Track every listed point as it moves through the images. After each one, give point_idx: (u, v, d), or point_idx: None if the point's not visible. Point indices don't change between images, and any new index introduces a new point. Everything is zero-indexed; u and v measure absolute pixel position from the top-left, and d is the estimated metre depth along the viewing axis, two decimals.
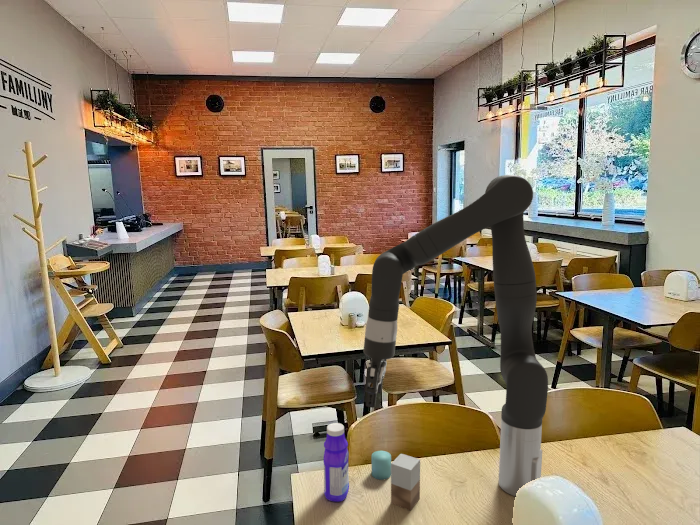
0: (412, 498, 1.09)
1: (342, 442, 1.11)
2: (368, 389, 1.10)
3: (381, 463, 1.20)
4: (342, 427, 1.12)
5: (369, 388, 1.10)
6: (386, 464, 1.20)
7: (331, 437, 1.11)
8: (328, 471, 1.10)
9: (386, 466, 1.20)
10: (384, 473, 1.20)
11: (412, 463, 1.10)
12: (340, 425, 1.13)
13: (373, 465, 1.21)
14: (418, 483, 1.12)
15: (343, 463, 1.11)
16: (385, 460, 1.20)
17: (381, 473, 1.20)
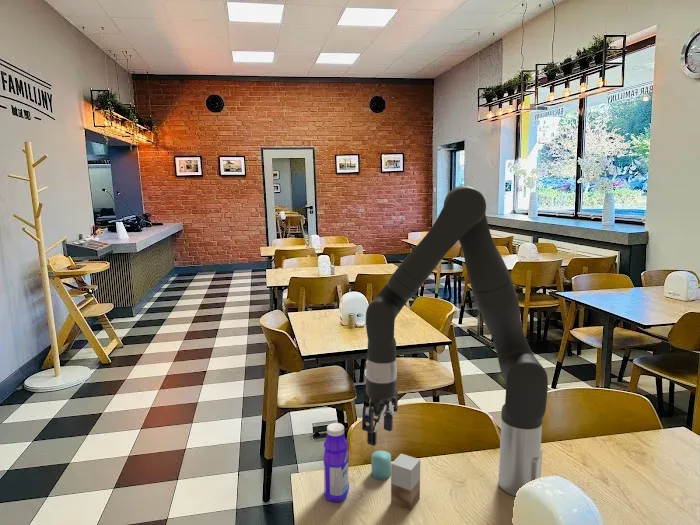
0: (412, 498, 1.09)
1: (342, 442, 1.11)
2: (364, 428, 1.15)
3: (381, 463, 1.20)
4: (342, 427, 1.12)
5: (365, 427, 1.15)
6: (386, 464, 1.20)
7: (331, 437, 1.11)
8: (328, 471, 1.10)
9: (386, 466, 1.20)
10: (384, 473, 1.20)
11: (412, 463, 1.10)
12: (340, 425, 1.13)
13: (373, 465, 1.21)
14: (418, 483, 1.12)
15: (343, 463, 1.11)
16: (385, 460, 1.20)
17: (381, 473, 1.20)
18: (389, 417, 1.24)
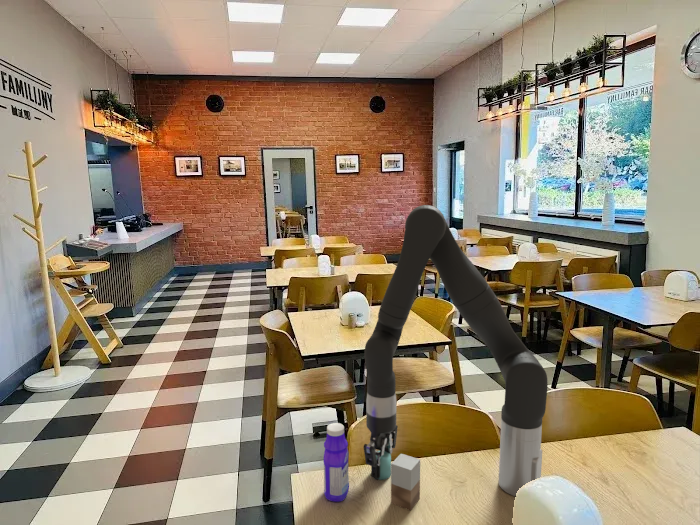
0: (412, 498, 1.09)
1: (342, 442, 1.11)
2: (368, 462, 1.18)
3: (381, 463, 1.20)
4: (342, 427, 1.12)
5: (369, 461, 1.18)
6: (386, 464, 1.20)
7: (331, 437, 1.11)
8: (328, 471, 1.10)
9: (386, 466, 1.20)
10: (384, 473, 1.20)
11: (412, 463, 1.10)
12: (340, 425, 1.13)
13: None
14: (418, 483, 1.12)
15: (343, 463, 1.11)
16: (385, 460, 1.20)
17: (381, 473, 1.20)
18: None
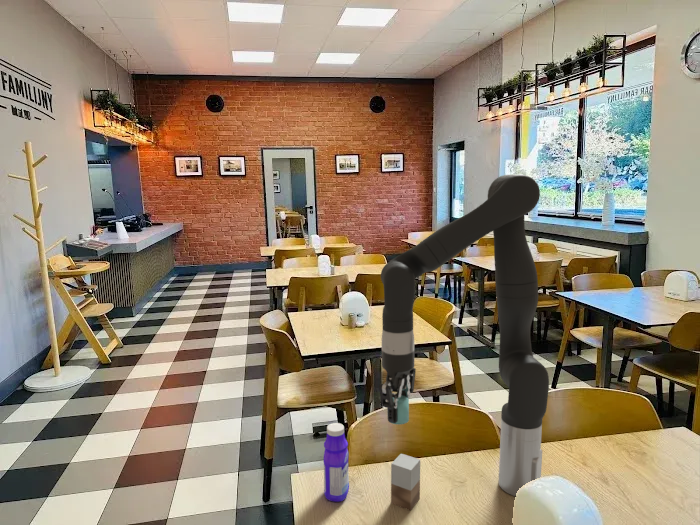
0: (412, 498, 1.09)
1: (342, 442, 1.11)
2: (384, 404, 1.08)
3: (398, 406, 1.10)
4: (342, 427, 1.12)
5: (385, 403, 1.08)
6: (403, 408, 1.11)
7: (331, 437, 1.11)
8: (328, 471, 1.10)
9: (404, 410, 1.11)
10: (401, 417, 1.11)
11: (412, 463, 1.10)
12: (340, 425, 1.13)
13: None
14: (418, 483, 1.12)
15: (343, 463, 1.11)
16: (402, 403, 1.11)
17: (398, 417, 1.11)
18: None
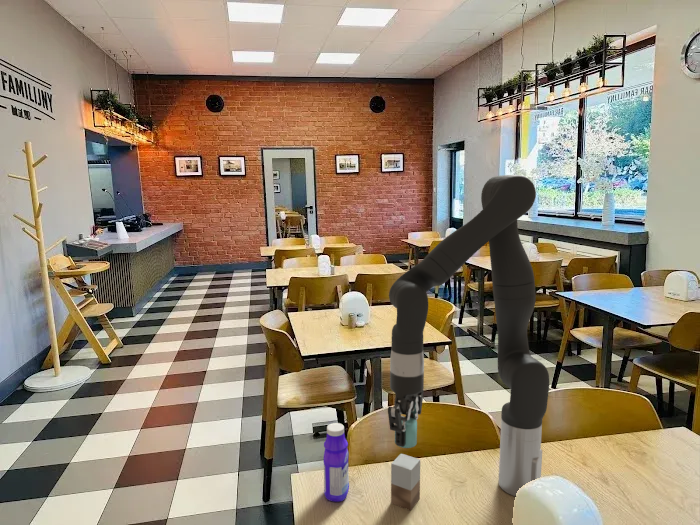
0: (412, 498, 1.09)
1: (342, 442, 1.11)
2: (393, 427, 1.05)
3: (406, 429, 1.07)
4: (342, 427, 1.12)
5: (394, 426, 1.05)
6: (412, 431, 1.07)
7: (331, 437, 1.11)
8: (328, 471, 1.11)
9: (412, 433, 1.07)
10: (409, 440, 1.07)
11: (412, 463, 1.10)
12: (340, 425, 1.13)
13: None
14: (418, 483, 1.12)
15: (343, 463, 1.11)
16: (411, 426, 1.07)
17: (407, 440, 1.07)
18: None
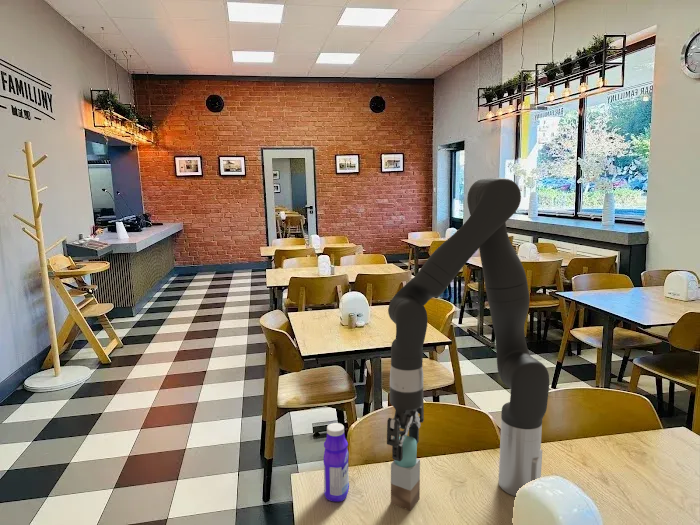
0: (411, 498, 1.09)
1: (342, 441, 1.11)
2: (389, 442, 1.04)
3: (406, 449, 1.08)
4: (342, 427, 1.12)
5: (391, 441, 1.04)
6: (411, 450, 1.08)
7: (331, 437, 1.11)
8: (328, 471, 1.11)
9: (412, 453, 1.08)
10: (409, 460, 1.08)
11: None
12: (340, 425, 1.13)
13: None
14: (418, 483, 1.12)
15: (343, 463, 1.11)
16: (411, 445, 1.08)
17: (406, 460, 1.08)
18: (415, 429, 1.13)
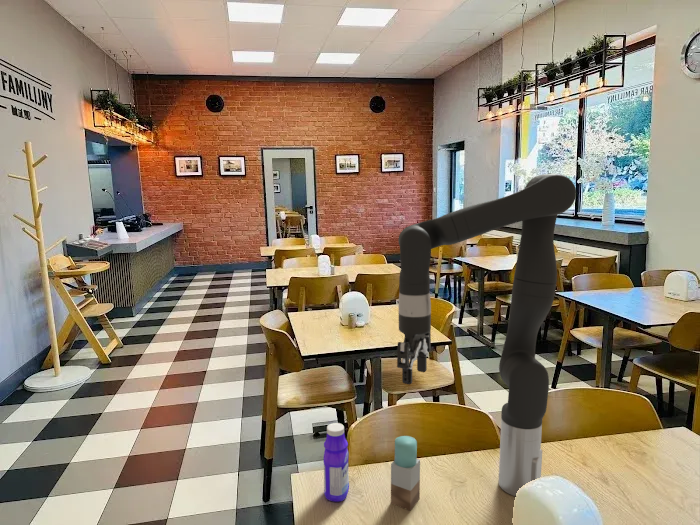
0: (411, 498, 1.09)
1: (342, 442, 1.11)
2: (400, 365, 1.08)
3: (406, 449, 1.08)
4: (342, 427, 1.12)
5: (401, 364, 1.09)
6: (411, 451, 1.08)
7: (331, 437, 1.11)
8: (328, 471, 1.10)
9: (412, 453, 1.08)
10: (409, 460, 1.08)
11: None
12: (340, 425, 1.13)
13: (397, 451, 1.09)
14: (418, 483, 1.12)
15: (343, 463, 1.11)
16: (411, 446, 1.08)
17: (406, 460, 1.08)
18: (423, 357, 1.18)
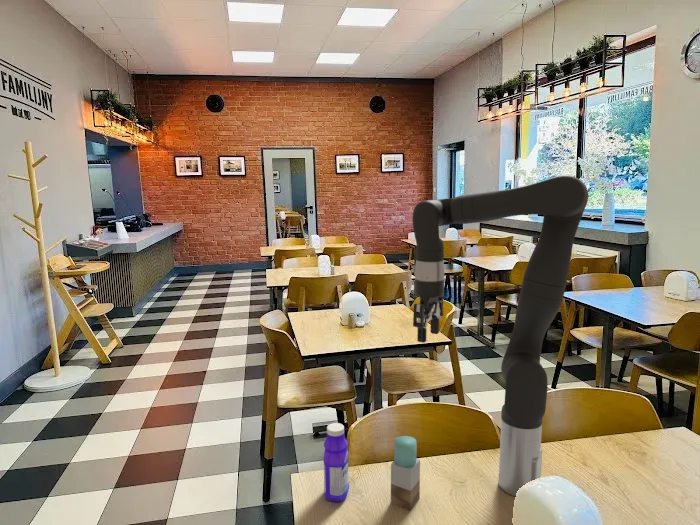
0: (411, 498, 1.09)
1: (342, 442, 1.11)
2: (416, 324, 1.21)
3: (406, 449, 1.08)
4: (342, 427, 1.12)
5: (417, 323, 1.21)
6: (411, 451, 1.08)
7: (331, 437, 1.11)
8: (328, 471, 1.10)
9: (412, 453, 1.08)
10: (409, 460, 1.08)
11: None
12: (340, 425, 1.13)
13: (397, 451, 1.09)
14: (418, 483, 1.12)
15: (343, 463, 1.11)
16: (410, 445, 1.08)
17: (406, 460, 1.08)
18: (436, 320, 1.30)
